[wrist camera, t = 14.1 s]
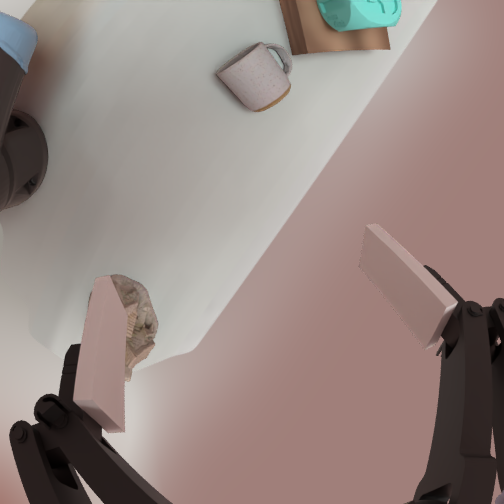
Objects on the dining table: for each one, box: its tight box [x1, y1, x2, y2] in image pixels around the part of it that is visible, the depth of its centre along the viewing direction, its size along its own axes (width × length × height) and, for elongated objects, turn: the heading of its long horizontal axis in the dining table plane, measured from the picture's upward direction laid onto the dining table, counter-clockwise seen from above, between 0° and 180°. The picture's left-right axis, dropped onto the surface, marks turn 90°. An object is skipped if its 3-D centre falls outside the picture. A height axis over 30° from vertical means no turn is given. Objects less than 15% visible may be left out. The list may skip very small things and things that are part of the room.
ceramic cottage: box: [88, 275, 158, 382], centre depth 48 cm, size 16×16×15 cm
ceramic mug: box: [217, 42, 292, 112], centre depth 34 cm, size 10×8×7 cm
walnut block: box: [279, 0, 390, 55], centre depth 30 cm, size 14×14×6 cm
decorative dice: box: [317, 0, 401, 32], centre depth 25 cm, size 8×8×8 cm
